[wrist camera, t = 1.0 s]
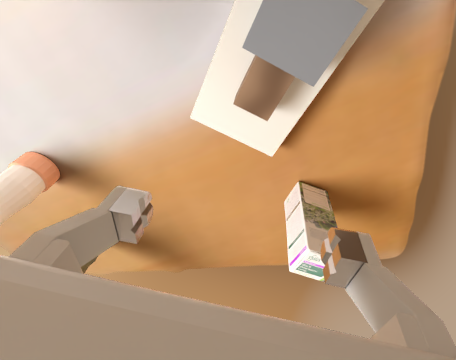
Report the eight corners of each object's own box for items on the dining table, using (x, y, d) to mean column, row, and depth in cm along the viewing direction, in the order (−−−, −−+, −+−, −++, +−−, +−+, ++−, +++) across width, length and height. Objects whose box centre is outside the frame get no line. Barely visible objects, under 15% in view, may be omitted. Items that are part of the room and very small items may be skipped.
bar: (236, 93, 31) (233, 104, 28) (310, -59, 21) (316, -65, 19) (267, 109, 31) (267, 121, 29) (352, -31, 22) (363, -32, 19)
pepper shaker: (39, 147, 45) (-73, 229, 30) (67, 177, 49) (-19, 262, 34) (13, 156, 47) (-102, 236, 32) (43, 184, 51) (-49, 266, 37)
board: (195, 108, 36) (179, 136, 30) (286, -127, 21) (293, -172, 15) (271, 146, 38) (272, 178, 32) (403, -44, 23) (452, -52, 17)
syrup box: (283, 201, 45) (287, 273, 34) (298, 179, 42) (309, 251, 30) (311, 211, 46) (324, 284, 35) (328, 189, 42) (349, 264, 31)
